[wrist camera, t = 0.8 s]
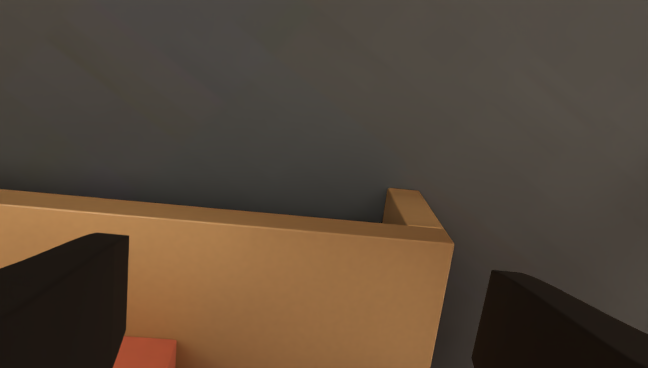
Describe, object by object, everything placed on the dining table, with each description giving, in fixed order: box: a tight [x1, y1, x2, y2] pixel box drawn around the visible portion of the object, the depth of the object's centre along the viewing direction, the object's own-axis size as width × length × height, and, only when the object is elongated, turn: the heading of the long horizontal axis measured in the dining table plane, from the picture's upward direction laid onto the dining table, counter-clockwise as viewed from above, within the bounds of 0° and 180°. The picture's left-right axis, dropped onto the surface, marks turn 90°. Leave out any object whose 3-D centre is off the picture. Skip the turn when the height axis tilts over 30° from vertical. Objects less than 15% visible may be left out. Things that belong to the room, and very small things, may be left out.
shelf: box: [0, 188, 454, 368], centre depth 20 cm, size 12×18×6 cm, turn 83°
